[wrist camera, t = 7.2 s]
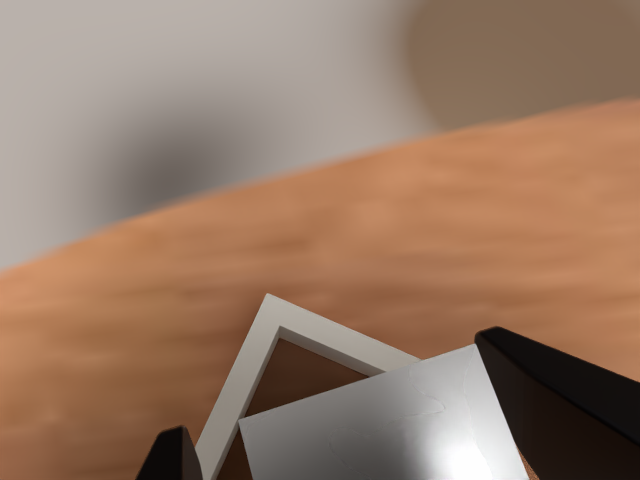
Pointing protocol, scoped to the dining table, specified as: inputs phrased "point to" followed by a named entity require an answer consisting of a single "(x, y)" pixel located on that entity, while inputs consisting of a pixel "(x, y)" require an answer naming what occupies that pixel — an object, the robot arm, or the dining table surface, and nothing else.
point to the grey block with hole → (256, 352)
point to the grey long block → (391, 428)
